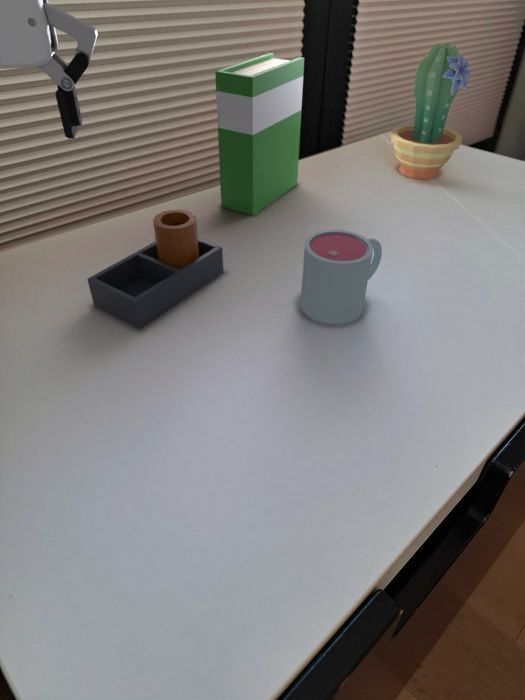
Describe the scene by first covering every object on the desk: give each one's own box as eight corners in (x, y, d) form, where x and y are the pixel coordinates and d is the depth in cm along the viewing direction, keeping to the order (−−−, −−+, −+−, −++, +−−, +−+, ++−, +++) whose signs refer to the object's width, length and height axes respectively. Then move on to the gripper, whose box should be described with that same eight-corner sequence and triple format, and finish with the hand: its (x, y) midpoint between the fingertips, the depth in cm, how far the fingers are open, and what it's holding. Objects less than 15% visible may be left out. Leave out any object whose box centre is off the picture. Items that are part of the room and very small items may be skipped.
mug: (329, 332, 70) (337, 271, 64) (288, 301, 76) (291, 241, 70) (397, 299, 77) (410, 240, 70) (354, 272, 82) (362, 215, 76)
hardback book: (267, 176, 112) (269, 52, 96) (297, 184, 109) (304, 57, 93) (221, 206, 100) (215, 71, 85) (252, 215, 97) (252, 77, 82)
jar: (152, 273, 80) (144, 220, 74) (179, 257, 84) (173, 205, 78) (181, 286, 77) (175, 233, 71) (208, 269, 81) (204, 216, 75)
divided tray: (94, 306, 75) (87, 278, 72) (179, 255, 86) (176, 229, 83) (139, 330, 70) (134, 302, 67) (223, 273, 82) (222, 246, 79)
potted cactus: (389, 184, 109) (413, 51, 93) (379, 157, 121) (399, 36, 105) (461, 185, 109) (498, 53, 93) (444, 159, 121) (474, 37, 104)
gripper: (76, -111, 40) (116, 120, 51) (-165, -115, 37) (-69, 127, 49) (63, -114, 34) (111, 146, 45) (-222, -119, 32) (-98, 155, 43)
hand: (18, 136), depth 47 cm, fingers open, 9 cm apart
